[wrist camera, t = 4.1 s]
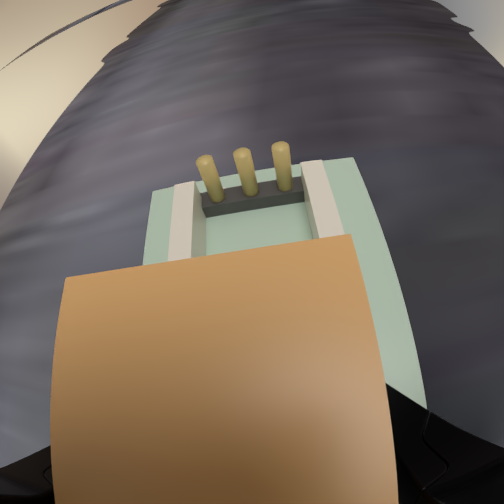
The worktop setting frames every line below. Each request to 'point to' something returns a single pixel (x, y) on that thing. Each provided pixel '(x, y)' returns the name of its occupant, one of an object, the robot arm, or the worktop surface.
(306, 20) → the worktop surface
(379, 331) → the board
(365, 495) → the plug
